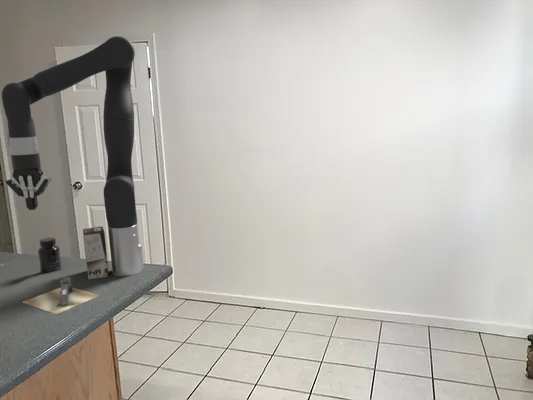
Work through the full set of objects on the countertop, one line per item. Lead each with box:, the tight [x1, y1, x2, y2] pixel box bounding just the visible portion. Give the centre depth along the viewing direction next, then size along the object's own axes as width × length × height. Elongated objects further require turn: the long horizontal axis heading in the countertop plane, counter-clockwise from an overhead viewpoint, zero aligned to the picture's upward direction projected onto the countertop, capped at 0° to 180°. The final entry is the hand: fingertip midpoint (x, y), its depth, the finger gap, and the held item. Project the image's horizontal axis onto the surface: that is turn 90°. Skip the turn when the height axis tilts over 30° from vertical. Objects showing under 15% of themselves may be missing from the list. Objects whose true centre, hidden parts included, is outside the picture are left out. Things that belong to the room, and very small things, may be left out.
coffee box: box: [82, 226, 110, 280], centre depth 154 cm, size 9×6×16 cm
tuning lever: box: [59, 276, 73, 305], centre depth 135 cm, size 12×3×4 cm, turn 20°
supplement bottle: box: [37, 237, 63, 273], centre depth 160 cm, size 7×7×12 cm
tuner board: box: [22, 286, 101, 315], centre depth 135 cm, size 14×16×2 cm
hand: (32, 209), depth 144 cm, fingers closed
